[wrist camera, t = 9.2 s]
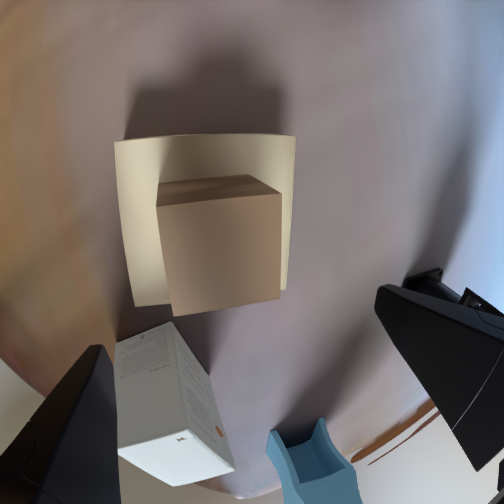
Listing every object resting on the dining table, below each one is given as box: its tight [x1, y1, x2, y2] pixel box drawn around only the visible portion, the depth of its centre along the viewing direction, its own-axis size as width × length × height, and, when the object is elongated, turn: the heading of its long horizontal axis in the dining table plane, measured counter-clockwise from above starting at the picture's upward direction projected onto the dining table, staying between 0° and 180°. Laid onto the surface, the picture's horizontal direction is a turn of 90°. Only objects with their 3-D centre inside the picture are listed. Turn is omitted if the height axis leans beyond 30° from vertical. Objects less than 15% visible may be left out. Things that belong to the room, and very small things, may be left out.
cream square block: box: [114, 133, 296, 307], centre depth 19 cm, size 10×10×4 cm
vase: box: [266, 417, 363, 504], centre depth 27 cm, size 8×8×20 cm
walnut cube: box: [156, 174, 282, 317], centre depth 15 cm, size 5×5×5 cm
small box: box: [113, 321, 236, 486], centre depth 20 cm, size 8×6×10 cm
